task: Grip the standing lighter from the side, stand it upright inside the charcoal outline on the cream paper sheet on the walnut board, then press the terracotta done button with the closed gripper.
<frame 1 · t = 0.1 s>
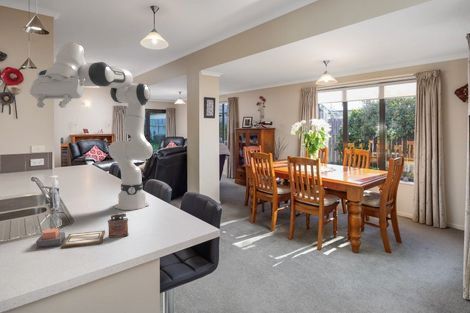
hand: (50, 106, 106), 54 cm above the counter, tool tilted 30°, fingers open, 8 cm apart
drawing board: (84, 239, 117), on the counter
lighter: (118, 236, 121), on the counter
button housing: (51, 243, 113), on the counter
done button: (50, 234, 113), point 4 cm above the counter, slide at 0.0 cm
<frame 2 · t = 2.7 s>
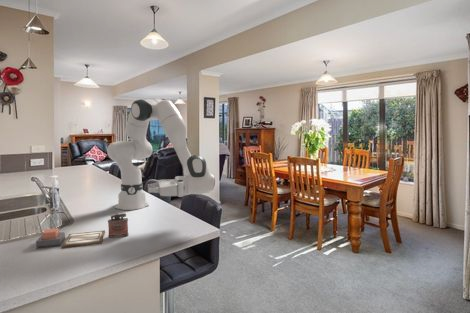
hand: (147, 188, 123), 20 cm above the counter, tool horizontal, fingers open, 8 cm apart
nothing on the counter moved.
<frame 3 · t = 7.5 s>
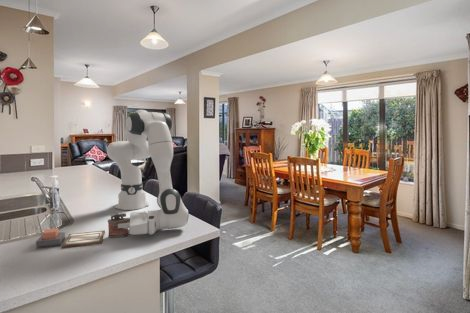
hand: (118, 223, 121), 6 cm above the counter, tool horizontal, fingers closed on lighter, 3 cm apart
lighter: (118, 236, 121), on the counter, touching gripper
everything else where it was.
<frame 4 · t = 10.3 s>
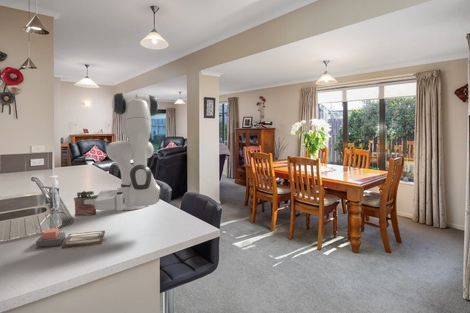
hand: (85, 200, 116), 17 cm above the counter, tool horizontal, fingers closed on lighter, 3 cm apart
lighter: (86, 215, 116), point 10 cm above the counter, touching gripper
everything else where it was.
when the fingers open (8 cm above the counter, at t = 12.9 s): lighter stays where it is, resting on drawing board.
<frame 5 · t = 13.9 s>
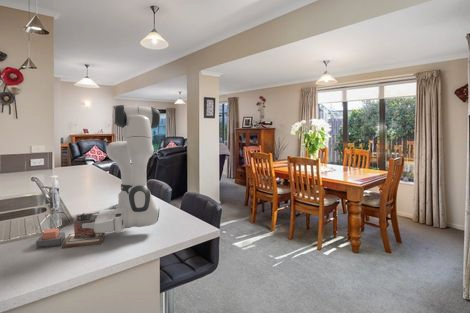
hand: (84, 221, 116), 8 cm above the counter, tool horizontal, fingers open, 8 cm apart
lighter: (85, 237, 117), point 1 cm above the counter, touching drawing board
everything else where it was.
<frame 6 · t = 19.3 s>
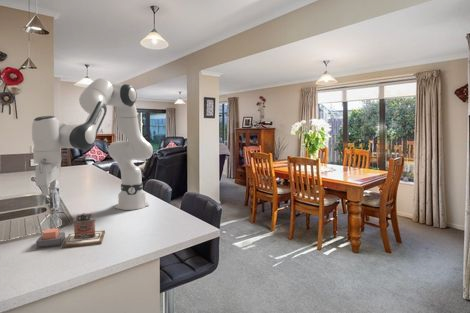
hand: (49, 192, 111), 21 cm above the counter, tool pointing down, fingers open, 8 cm apart
nothing on the counter moved.
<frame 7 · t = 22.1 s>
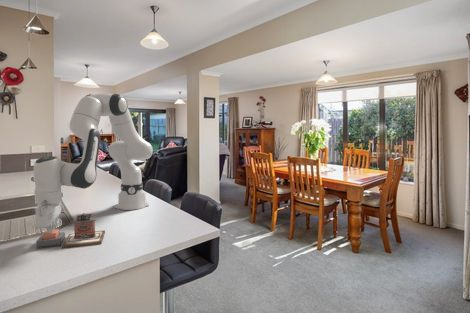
hand: (50, 231, 112), 5 cm above the counter, tool pointing down, fingers closed, pressing on done button
done button: (50, 235, 113), point 3 cm above the counter, slide at 0.5 cm, touching gripper
everything else where it was.
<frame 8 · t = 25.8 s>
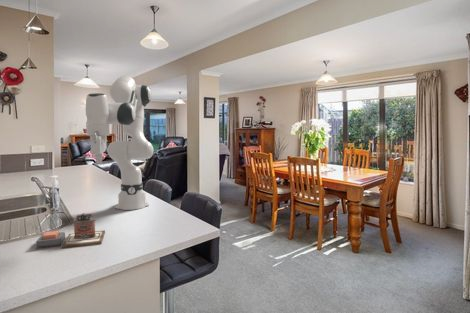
hand: (99, 163, 121), 31 cm above the counter, tool pointing down, fingers closed
done button: (51, 236, 113), point 3 cm above the counter, slide at 1.1 cm
everything else where it was.
at the end: lighter inside the target area on the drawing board (0.4 cm from its centre), point 0.9 cm above the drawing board's base; lighter tilted 0°; done button slide at 1.1 cm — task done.
